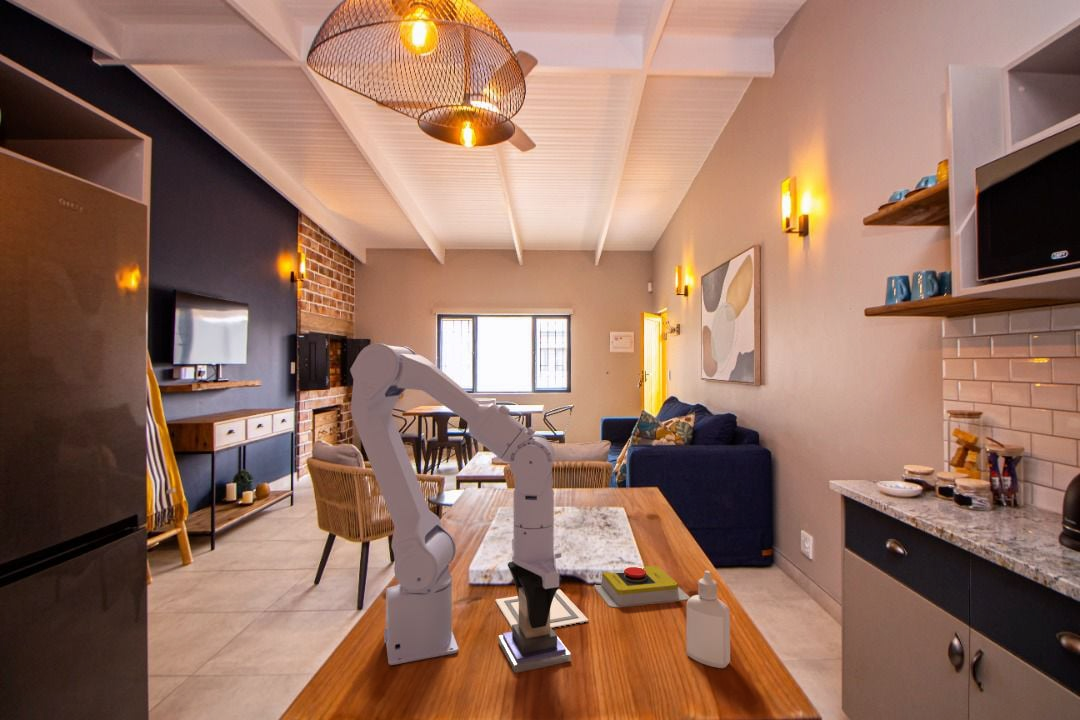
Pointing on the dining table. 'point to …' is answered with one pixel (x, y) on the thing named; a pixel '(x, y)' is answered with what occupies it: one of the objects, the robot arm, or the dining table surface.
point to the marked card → (560, 610)
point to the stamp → (531, 630)
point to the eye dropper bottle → (708, 626)
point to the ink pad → (532, 654)
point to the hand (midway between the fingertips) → (533, 619)
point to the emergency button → (639, 587)
